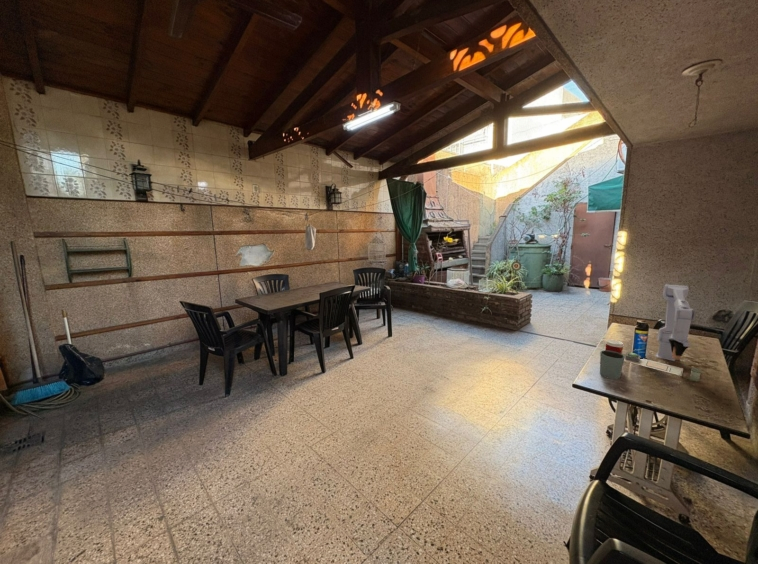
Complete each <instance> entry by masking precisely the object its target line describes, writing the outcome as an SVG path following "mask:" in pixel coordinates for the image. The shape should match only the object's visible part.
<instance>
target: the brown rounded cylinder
mask: <svg viewBox="0 0 758 564" xmlns="http://www.w3.org/2000/svg"><path fill="white" fill-rule="evenodd" d="M675 350H676V349H675V347H673V353H672V358H674V359H675V360H681V357H682V356H676V354H675Z"/></svg>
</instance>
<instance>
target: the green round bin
mask: <svg viewBox="0 0 758 564" xmlns="http://www.w3.org/2000/svg"><path fill="white" fill-rule="evenodd" d="M599 356H600V360H599V363H600V365H599V374H600V375H601V376H602V377H604V378H607V379H610V380H620V378H621V376H622V370H623V366H624V362H625V361H624V359H625V356H626V355H624V354H620V353H618V352H614V351H606V350H600V353H599Z"/></svg>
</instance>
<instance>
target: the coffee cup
mask: <svg viewBox="0 0 758 564" xmlns="http://www.w3.org/2000/svg"><path fill="white" fill-rule="evenodd" d="M624 347H625V345H624V343H623V342H622V341H620V340H618V339H617V340H616V339H606V340H605V350H606V351H614V352H618V353H620V354H622V353H623V349H624ZM605 350H604V351H605ZM622 355H623V354H622Z"/></svg>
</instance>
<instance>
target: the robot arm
mask: <svg viewBox="0 0 758 564" xmlns="http://www.w3.org/2000/svg"><path fill="white" fill-rule="evenodd" d="M689 290H690V288H689V286H688V285H681V284H680V285H677V284H668V283H666V284H665V285H663V289H662V299H664V300H666V301H665V302H666V312H665V322H664V326H663V327H661V328H659V329H658V330H657V334H656V341H658V342H659V345H658V349H657V350H658V351H657V353H656V355H655V357H656V358H660V359H664V360H668V361H672V362H673V361H674V362H675V361H676V359H674V358H672V353H673V347H675V349H676V350H675V354H676V356H681V357H682V356H683V354H684V353H685V351H686V350H687V349H688V348H690V346H691V342H689V332H690V328H691V323H692V321H693V320H694V319H695V310H694V309H693V308H692V307H691V306H690V302H689V301H688V300H686V298H687V296H688V295H689V292H690V291H689Z"/></svg>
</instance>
